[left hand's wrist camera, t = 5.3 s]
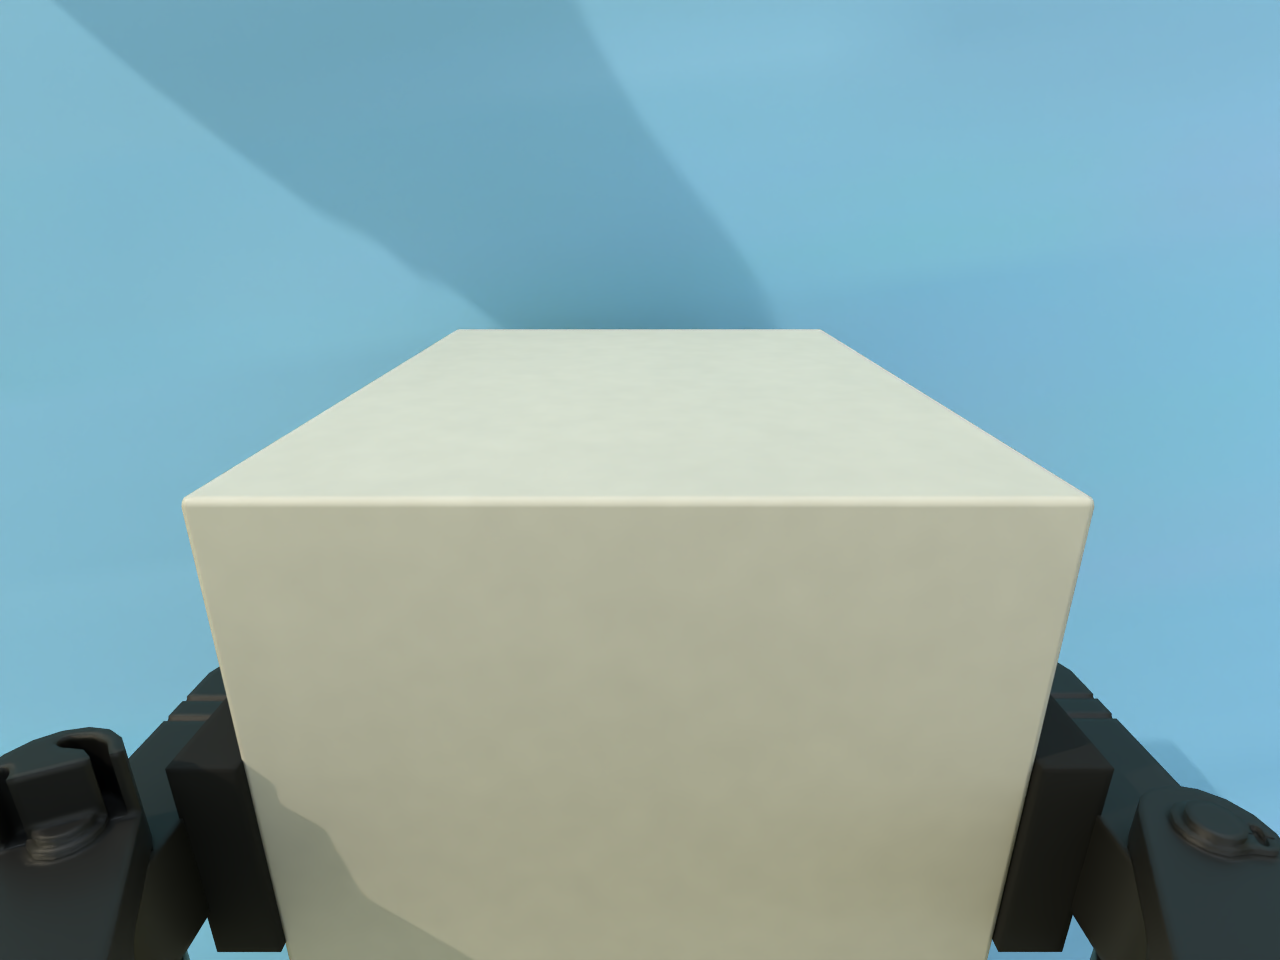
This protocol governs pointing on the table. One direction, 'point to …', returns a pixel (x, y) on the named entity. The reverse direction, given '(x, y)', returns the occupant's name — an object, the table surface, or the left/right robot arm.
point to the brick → (638, 653)
